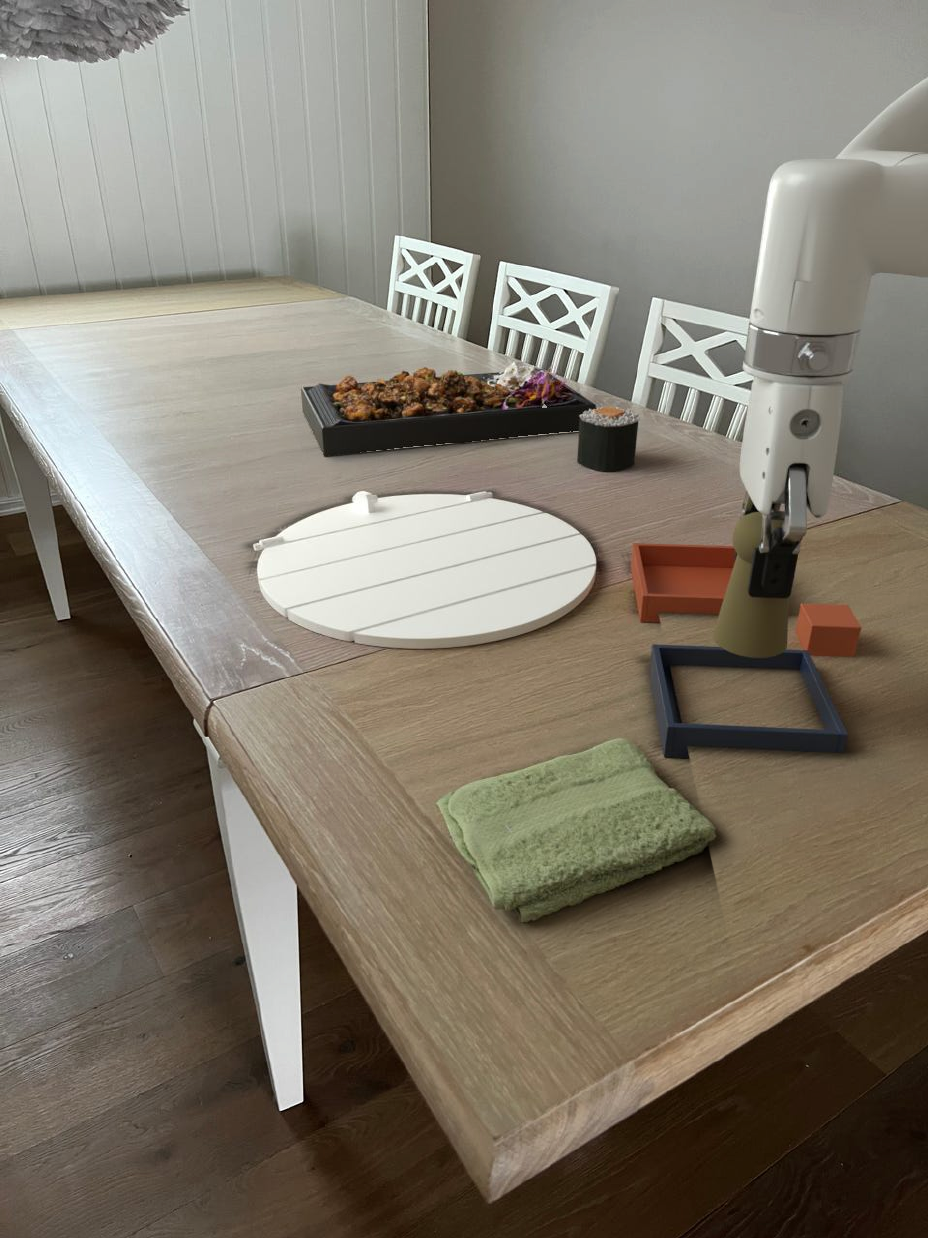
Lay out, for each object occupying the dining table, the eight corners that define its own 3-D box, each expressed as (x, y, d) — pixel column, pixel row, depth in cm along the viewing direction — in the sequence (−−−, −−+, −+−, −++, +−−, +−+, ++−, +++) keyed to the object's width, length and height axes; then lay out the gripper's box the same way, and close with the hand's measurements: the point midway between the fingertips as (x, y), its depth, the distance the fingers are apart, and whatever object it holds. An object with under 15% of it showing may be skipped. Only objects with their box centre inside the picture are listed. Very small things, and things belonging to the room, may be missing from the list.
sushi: (567, 461, 140) (570, 409, 136) (604, 450, 144) (608, 399, 141) (607, 475, 134) (612, 422, 130) (644, 463, 139) (649, 411, 135)
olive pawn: (777, 665, 74) (801, 538, 69) (703, 646, 77) (720, 523, 71) (794, 632, 78) (818, 511, 73) (724, 615, 81) (741, 498, 76)
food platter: (542, 392, 174) (544, 336, 169) (594, 430, 153) (598, 368, 148) (302, 412, 163) (297, 353, 158) (324, 456, 142) (318, 389, 137)
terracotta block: (839, 644, 92) (848, 604, 90) (852, 668, 88) (861, 627, 86) (792, 642, 92) (800, 603, 90) (803, 666, 88) (812, 625, 86)
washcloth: (427, 814, 70) (426, 781, 68) (626, 757, 76) (630, 724, 75) (501, 939, 59) (502, 902, 58) (726, 860, 66) (732, 826, 64)
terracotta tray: (754, 571, 107) (758, 546, 105) (779, 627, 95) (784, 600, 94) (630, 567, 108) (632, 542, 106) (640, 622, 96) (642, 595, 95)
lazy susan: (211, 538, 115) (208, 512, 114) (479, 481, 133) (479, 458, 131) (342, 689, 85) (340, 657, 83) (667, 590, 102) (670, 561, 101)
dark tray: (802, 678, 86) (808, 649, 85) (840, 765, 75) (848, 734, 73) (648, 672, 88) (651, 644, 86) (663, 757, 76) (667, 726, 75)
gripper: (892, 383, 58) (836, 633, 67) (822, 327, 73) (784, 538, 82) (771, 381, 59) (731, 629, 68) (726, 326, 74) (698, 535, 83)
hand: (761, 577), depth 75 cm, fingers closed on olive pawn, 5 cm apart
